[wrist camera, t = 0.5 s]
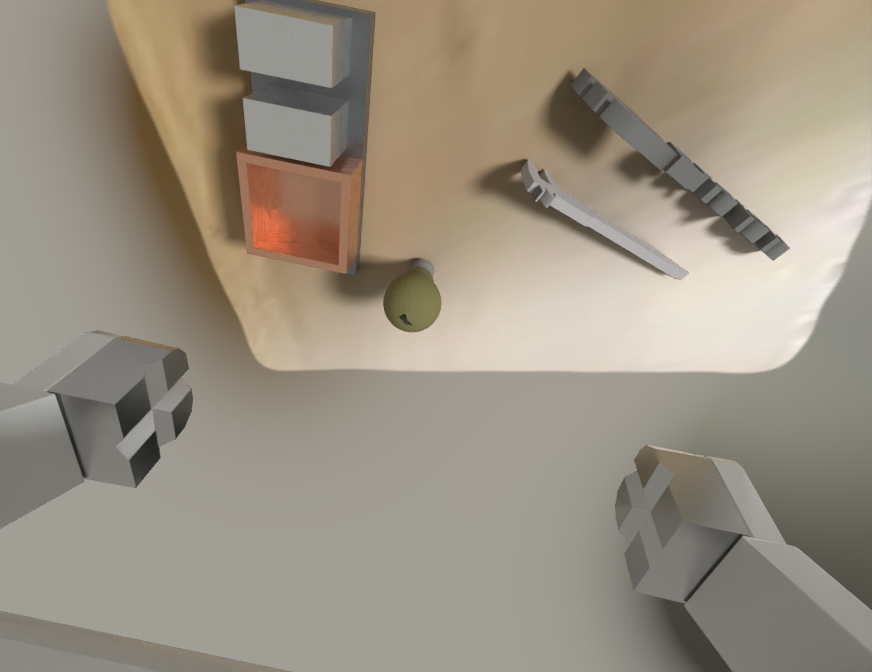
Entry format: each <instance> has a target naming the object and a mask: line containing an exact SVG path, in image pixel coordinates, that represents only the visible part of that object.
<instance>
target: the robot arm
mask: <svg viewBox="0 0 872 672" xmlns="http://www.w3.org/2000/svg"><path fill="white" fill-rule="evenodd" d="M188 369H189V366H188V361H187V355H186V353H185V352H184V351H182V350H181V349H179V348H175V347H170V346H166V345H162V344H157V343H153V342H149V341H144V340H140V339H136V338H131V337H127V336H120V335H116V334H111V333H107V332H103V331H98V330H97V331H90V332H86V333H85V334H84V335H82V336H80V337H79V338H78V339H76V340H75V341H73V342H72V343H71V344H69V345H68V346H66V347H65V348H63V349H62V350H61V351H59V352H58V353H56V354H55V355H53V356H52V357H51V358H49V359H48V360H46V361H45V362H44V363H42V364H41V365H39V366H38V367H36V368H35V369H34V370H32V371H31V372H29V373H28V374H26V375H25V376H24V377H22V378H21V379H20V380H18V381H17V382H15V383H14V384H12V385H9V384H4V383H0V529H1V528H3V527H4V526H6V525H8V524H10V523H11V522H13V521H15V520H17V519H18V518H20V517H22V516H24V515H26V514H27V513H29V512H31V511H33V510H35V509H36V508H38V507H40V506H42V505H44V504H45V503H47V502H49V501H50V500H52V499H54V498H56V497H58V496H59V495H61V494H63V493H65V492H67V491H69V490H70V489H72V488H74V487H76V486H77V485H79V484H81V483H83V482H84V479H88V480H94V481H100V482H106V483H111V484H116V485H122V486H127V487H133V488H136V487H137V486H138V485H139V484H140V482H141V481H142V480H143V479H144V477H145V476H146V475H147V474H148V473H149V471H150V470H151V469H152V468H153V467H154V465H155V464H156V463H157V462H158V460H159V459H160V448H159V447H160V446H162V445H164V444H166V443H168V442H170V441H173V440H175V439H176V438H177V437H178V435H179V434H180V433H181V432H182V430H183V429H184V428H185V426H186V424H187V421H188V419H189V416H190V414H191V411H192V404H193V395H192V388H191V387H190V386H189V385H188V383H187V382H186V381H185V380H184V379H183V377H182V376H183V375H184V374H185V372H186V371H187V370H188ZM634 461H635V464H636V468H637V471H636V472H634V473H632V474H630V475H628V476H626V477H625V478H624V479H623V481H622V483H621V485H620V487H619V489H618V492H617V498H616V504H615V512H616V520H617V525H618V530H619V531H620V533H621V534H622V535H623V536H624V537H625V538H626V540H627V541H628V542H629V543H630V545H629V547H628V548H627V550H626V552H625V553H624V555H625V559H626V563H627V567H628V571H629V575H630V579H631V582H632V587H633V591H635V592H639V593H643V594H648V595H652V596H656V597H660V598H665V599H669V600H673V601H677V602H682V603H686V604H685V605H684V606H685V608H686V609H687V610H688V612H689V613H690V614H691V615H692V617H693V619H694V620H695V621H696V623H697V624H698V625H699V627H700V628H701V629H702V631H703V632H704V633H705V635H706V636H707V637H708V639H709V640H710V642H711V643H712V644H713V646H714V647H715V648H716V650H717V651H718V652H719V654H720V655H721V657H722V658H723V659H724V661H725V662H726V663H727V665H728V666H729V667H730V669H731V670H732V671H733V672H872V610H870V609H869V608H868V607H867V606H866V605H864V604H863V603H862V602H861V601H860V600H859V599H857V598H856V597H855V596H854V595H852V594H851V593H850V592H849V591H848V590H847V589H846V588H844V587H843V586H842V585H841V584H840V583H838V582H837V581H836V580H835V579H834V578H833V577H831V576H830V575H829V574H828V573H826V572H825V571H824V570H823V569H822V568H821V567H820V566H818V565H817V564H816V563H815V562H814V561H812V560H811V559H810V558H809V557H808V556H807V555H805V554H804V553H803V552H802V551H801V550H799V549H798V548H797V547H794V546H790V545H786V543H785V541H784V539H783V538H782V536H781V534H780V533H779V531H778V529H777V527H776V526H775V524H774V522H773V520H772V518H771V517H770V515H769V514H768V511H767V510H766V508H765V506H764V504H763V503H762V501H761V499H760V497H759V496H758V494H757V492H756V490H755V489H754V487H753V485H752V483H751V482H750V480H749V478H748V476H747V475H746V473H745V471H744V469H743V468H742V467H741V466H740V465H739V464H738V463H736V462H735V461H731V460H725V459H720V458H715V457H709V456H700V455H696V454H690V453H686V452H680V451H676V450H670V449H665V448H661V447H656V446H650V445H646V446H644V447H643V448H642V449H641V450H640V451H639V453H638V455H637V456H636V458H635V459H634ZM0 672H291V671H286V670H281V669H276V668H272V667H267V666H262V665H257V664H253V663H248V662H243V661H238V660H233V659H229V658H224V657H219V656H214V655H210V654H205V653H200V652H195V651H190V650H185V649H181V648H176V647H171V646H166V645H161V644H157V643H152V642H147V641H142V640H138V639H133V638H128V637H123V636H119V635H113V634H109V633H104V632H99V631H94V630H90V629H85V628H80V627H75V626H71V625H66V624H61V623H56V622H51V621H46V620H42V619H37V618H32V617H28V616H23V615H17V614H13V613H8V612H4V611H0Z"/></svg>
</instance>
